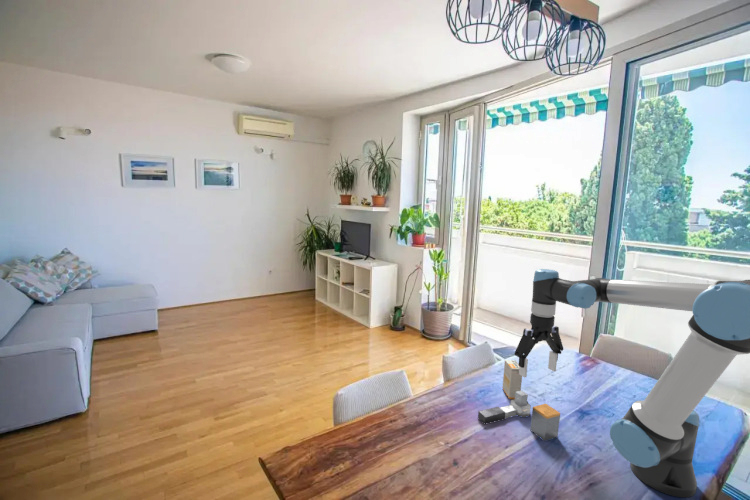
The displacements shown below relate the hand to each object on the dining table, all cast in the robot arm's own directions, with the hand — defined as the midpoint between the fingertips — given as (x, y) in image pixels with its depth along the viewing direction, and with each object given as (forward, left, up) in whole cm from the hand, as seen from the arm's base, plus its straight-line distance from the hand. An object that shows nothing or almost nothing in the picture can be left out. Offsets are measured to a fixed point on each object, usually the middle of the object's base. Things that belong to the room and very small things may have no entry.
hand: (537, 372), depth 127 cm
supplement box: (+18, -7, -19) cm, 27 cm away
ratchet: (+7, +6, -19) cm, 21 cm away
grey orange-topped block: (-6, +1, -19) cm, 20 cm away
